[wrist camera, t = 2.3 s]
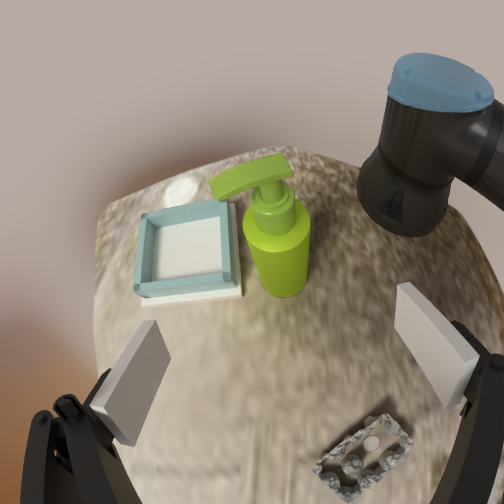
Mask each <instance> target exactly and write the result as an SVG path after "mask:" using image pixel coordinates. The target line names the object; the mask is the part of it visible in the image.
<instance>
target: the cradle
mask: <svg viewBox="0 0 504 504" xmlns="http://www.w3.org/2000/svg"><path fill="white" fill-rule="evenodd" d="M134 292H135V293H137V294H138V295H140V296H141V297H142V302H141V306H143V307H144V308H152V307H163V306H173V305H183V304H192V303H201V302H210V301H218V300H227V299H235V298H242V297H243V292H242V280H241V268H240V256H239V243H238V230H237V217H236V207H235V204H234V203H230V204H229V202H228V199H226V200H224V201H218V200H215V199H210V200H205V201H200V202H195V203H190V204H185V205H180V206H176V207H171V208H166V209H162V210H157V211H153V212H149V213H144V214H142V216H141V223H140V230H139V238H138V247H137V256H136V266H135V278H134Z"/></svg>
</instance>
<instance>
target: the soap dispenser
mask: <svg viewBox="0 0 504 504" xmlns="http://www.w3.org/2000/svg"><path fill="white" fill-rule="evenodd" d="M292 176H293V172H292V169H291V167H290V166H289V164H288V162H287V161H286V159H285V157H284V156H283V154H282V153H279V154H274V155H270V156H266V157H262V158H258V159H255V160H251V161H248V162H245V163H242V164H240V165H237V166H235V167H233V168H230V169H228V170H226V171H224V172H223V173H221V174H219V175H217V176H216V177H214V178H212V179H211V180H210V185H211V188H212V192H213V195H214V198H215V200H218V201H224V200H226V199H228V198H230V197H231V196H234V195H236V194H238V193H240V192H243V191H245V190H248V189H251V188H254V187H256V188H255V189H254V190H253V192H252V194H251V206H250V207H249V208H248V210H247V211H246V213H245V215H244V218H243V231H244V234H245V237H246V240H247V242H248V245H249V248H250V251H251V254H252V256H253V259H254V262H255V265H256V267H257V270H258V273H259V276H260V279H261V281H262V284H263V286H264V288H265V289H266V290H267V291H268V292H269V293H270V294H272V295H273V296H276V297H280V298H287V297H291V296H294V295H296V294H297V293H299V292H300V291H301V290H302V288H303V287H304V285H305V283H306V280H307V269H308V255H309V240H310V215H309V213H308V210H307V209H306V207H305V206H304V205H303V204H302V203H301V202H300V201H298V200H297V199H295V194H294V191H293V189H292V188H291V187H290V186H289V185H288V184H287V183H285V182H282V179H284V178H288V177H292Z"/></svg>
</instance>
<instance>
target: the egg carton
mask: <svg viewBox="0 0 504 504" xmlns="http://www.w3.org/2000/svg"><path fill="white" fill-rule="evenodd" d="M384 420H386V421H385V422H384V430H385V431H386V432H388V433H390V434H391V435H400V434H401V436H400V438H399V445H400V447H399V448H398V449H397V450H396V451H395V452H394V451H392V450H388V451H385V452H383V453H382V454H381V455H380V457H379V461H378V462H379V466H378V467H377V468H376V469H375V470H371V469H365V470H363V471H362V469H363V466H364V463H363V461H362V460H361V459H360V458H359V457H358V456H357V455H355V454H349V455H346V456H345V457H344V458H343V459H342V460H341V467H342V469H343V471H344V472H345V473H346V474H347V475H357V474H358V475H357V482H358V483H357V484H356V485H355V486H354V487H352V488H351V487H349V486H343V487H341V486H340V481H339V478H338V476H337V474H336V473H335V472H332V471H327V472H324V473H321V471H322V468H323V467H322V463H321V462H322V461H323V460H324V459H325V458H328V459H329V458H331V459H336V458H339V457H343V456H344V455H345V450H346V446H345V443H346V442H348V441H351V442H358V440H362V439H364V438H365V437H367V438H366V439H365V441H364V442H363V449H364V450H365V451H368V452H372V451H374V450H376V449H378V447H379V446H380V442H381V440H380V438H379V437H378V436H375V435H372V436H369V434H370V432H371V430H372V429H374V428H376V427H377V426H378V425H379V424H380V423H381V422H383V421H384ZM363 422H364V429H361V430H359V431H358V432H357V433H355V434H354V435H353V436H351V435H349V434H348V435H347V436H346V437H345V438H344V439H343V440H342V442H341V443H340V444H339V445H337V446H336V447H335V448H334V449H333V450H332V451H331V452H329V453H324V454H323V455H321V456H320V457H319V458H320V461H318V462H317V463H316V466H315V467H314V468H313V469H312V471H313V472H314V473H315V474H316V475H317V476H318V477H319V478H320V479H321V480H322V481H323V482H324V483H325V484H326V485H327V486H328V487H329V488H330V489H331V490H332V491H333V492H334V493H336V494H337V495H338V496H339V497H340V498H341V499H342V500H344V501H345V502H347V503H349V502H351V501H352V500H353V499H355V498H356V497H357V496H359V495H360V494H361V493H362V492H363V491H364V490H366V489H369V488H370V486H372V485H374V484H377V483H378V482H379V481H380V480H381V479H382V478H383V477H384V476H386V475H387V474H388V473H390V472H391V471H392V470H393V469H394V468H395V467H397V466H398V465H399V464H401V463H402V462H403V461H404V460H406V459H407V457H408V456H409V455H410V453H411V450H412V447H413V443H414V442H413V440H412V439H411V438H410V437H409V436H408V435H407V434H406V433H405V431H403V430H402V428H401V426H400V425H399V424H398V423H397V422H396V421H395V420H393V419H392V418H391V417H390V415H389V414H388V413H387V412H385V414H381V415H379V416H377V417H372V416H368V417H367V418H366V419H365V420H364V421H363ZM368 436H369V437H368Z"/></svg>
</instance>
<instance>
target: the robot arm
mask: <svg viewBox="0 0 504 504" xmlns="http://www.w3.org/2000/svg"><path fill="white" fill-rule="evenodd" d="M493 93H494V91H493V88H492V86H491V84H490V83H489V82H488V80H486V79H485V78H484V77H483V76H482V75H481V74H478V73H476V72H475V71H474V70H473V69H472V68H470V67H468V66H466V65H464V64H462V63H460V62H458V61H455V60H453V59H450V58H447V57H443V56H439V55H434V54H428V53H411V54H407V55H404V56H402V57H401V58H399V59H398V60H397V62H396V63H395V65H394V69H393V73H392V78H391V82H390V84H389V85H388V98H387V103H386V109H385V115H384V119H383V124H382V129H381V134H380V138H379V143H378V146H377V147H376V148H375V150H374V151H373V153H372V154H371V156H370V157H369V158H368V159H367V160H366V161H365V162H364V164H363V165H362V167H361V169H360V172H359V177H358V181H357V194H358V198H359V200H360V203H361V205H362V207H363V208H364V210H365V211H366V213H367V214H368V215H369V216H370V217H371V218H372V219H373V220H374V221H375V222H376V223H377V224H379V225H380V226H381V227H383V228H384V229H386V230H388V231H390V232H392V233H395V234H397V235H401V236H406V237H420V236H424V235H427V234H429V233H431V232H432V231H433V230H434V229H435V228H436V227H437V226H438V225H439V223H440V222H441V221H442V219H443V218H444V216H445V213H446V211H447V206H448V197H449V193H450V187H451V183H452V181H453V179H454V177H456V178H458V179H459V180H461V181H462V182H464V183H466V184H467V185H469V186H470V187H471V188H473V189H474V190H475V191H477V192H479V193H480V194H481V195H482V196H484V197H485V198H487V199H488V200H489V201H491V202H492V203H493V204H495V205H496V206H497V207H499V208H500V209H501V210H502V211H504V105H503V104H502V103H499V102H498V101H497V100H495V99H494V94H493ZM394 328H395V329H396V331H397V332H398V334H399V335H400V337H401V338H402V340H403V341H404V343H405V344H406V346H407V347H408V349H409V350H410V352H411V353H412V355H413V356H414V358H415V360H416V361H417V363H418V364H419V366H420V368H421V369H422V371H423V372H424V374H425V376H426V377H427V379H428V381H429V382H430V384H431V386H432V387H433V389H434V391H435V392H436V394H437V396H438V398H439V399H440V401H441V403H442V405H443V406H444V408H445V410H446V409H449V408H451V407H453V406H455V405H457V404H459V403H460V401H461V399H462V397H463V395H465V397H466V398H467V402H466V403H465V405H464V407H463V409H462V411H461V413H460V416H462V419H461V423H460V426H459V430H458V433H457V437H456V440H455V443H454V446H453V449H452V452H451V455H450V458H449V460H448V463H447V466H446V468H445V471H444V473H443V476H442V478H441V481H440V483H439V485H438V487H437V490H436V492H435V494H434V496H433V498H432V500H431V502H430V504H487V502H488V499H489V497H490V494H491V491H492V487H493V484H494V481H495V477H496V474H497V470H498V466H499V462H500V457H501V453H502V448H503V443H504V356H503V355H500V354H490V353H489V352H488V350H487V349H486V348H485V347H484V346H483V345H482V344H481V343H480V342H479V341H478V340H477V338H476V337H474V335H473V334H472V333H471V332H469V330H468V329H467V328H466V327H465V326H464V325H463V324H461V323H459V322H457V321H455V320H454V321H451V322H449V321H448V320H447V319H446V318H445V317H444V316H443V315H442V314H441V313H440V312H439V311H438V310H437V309H436V308H435V307H434V305H433V304H432V303H431V302H430V301H429V300H428V299H427V298H426V297H425V296H424V295H423V294H421V293H420V292H419V291H418V290H417V289H416V288H415V287H414V286H413V285H412V284H411V283H410V282H406V283H402V284H397V299H396V312H395V323H394ZM170 360H171V357H170V354H169V352H168V350H167V347H166V345H165V342H164V340H163V338H162V335H161V333H160V330H159V328H158V325H157V322H156V320H147V321H143V323H142V324H141V326H140V327H139V329H138V330H137V332H136V333H135V335H134V336H133V338H132V339H131V341H130V342H129V344H128V345H127V347H126V348H125V350H124V351H123V353H122V354H121V356H120V357H119V359H118V360H117V362H116V363H115V365H114V366H113V368H112V369H110V368H109V369H108V370H107V371H106V372H104V373H103V374H102V375H101V377H100V378H99V380H98V383H96V385H95V386H94V389H92V391H91V392H90V394H89V395H88V397H87V399H86V400H85V402H84V403H83V405H81V404H80V402H79V401H78V399H77V398H76V397H75V396H74V395H73V394H66V395H63V396H61V397H59V398H58V399H57V400H56V401H55V403H54V405H53V409H54V411H55V412H56V413H57V415H58V416H59V417H56V418H55V417H54V416H53V415H52V414H51V412H50V411H48V410H42V411H39V412H38V413H36V415H35V416H34V417H33V419H32V422H31V427H30V431H29V436H28V442H27V447H26V452H25V459H24V466H23V475H22V484H21V497H20V504H142V502H141V500H140V498H139V497H138V495H137V493H136V491H135V489H134V487H133V485H132V483H131V481H130V479H129V477H128V475H127V473H126V470H125V468H124V466H123V464H122V461H121V459H120V457H119V454H118V452H117V450H116V447H115V446H114V444H113V443H112V441H113V439H114V437H115V438H116V439H117V441H118V442H119V443H120V444H122V445H128V446H133V447H135V444H136V442H137V439H138V436H139V434H140V431H141V429H142V426H143V424H144V422H145V419H146V417H147V414H148V412H149V409H150V407H151V404H152V402H153V400H154V397H155V395H156V392H157V390H158V388H159V385H160V383H161V381H162V378H163V376H164V373H165V371H166V369H167V366H168V364H169V362H170ZM462 414H463V415H462ZM54 450H55V451H56V452H57V454H56V456H55V455H54ZM502 504H504V493H503V502H502Z"/></svg>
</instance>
